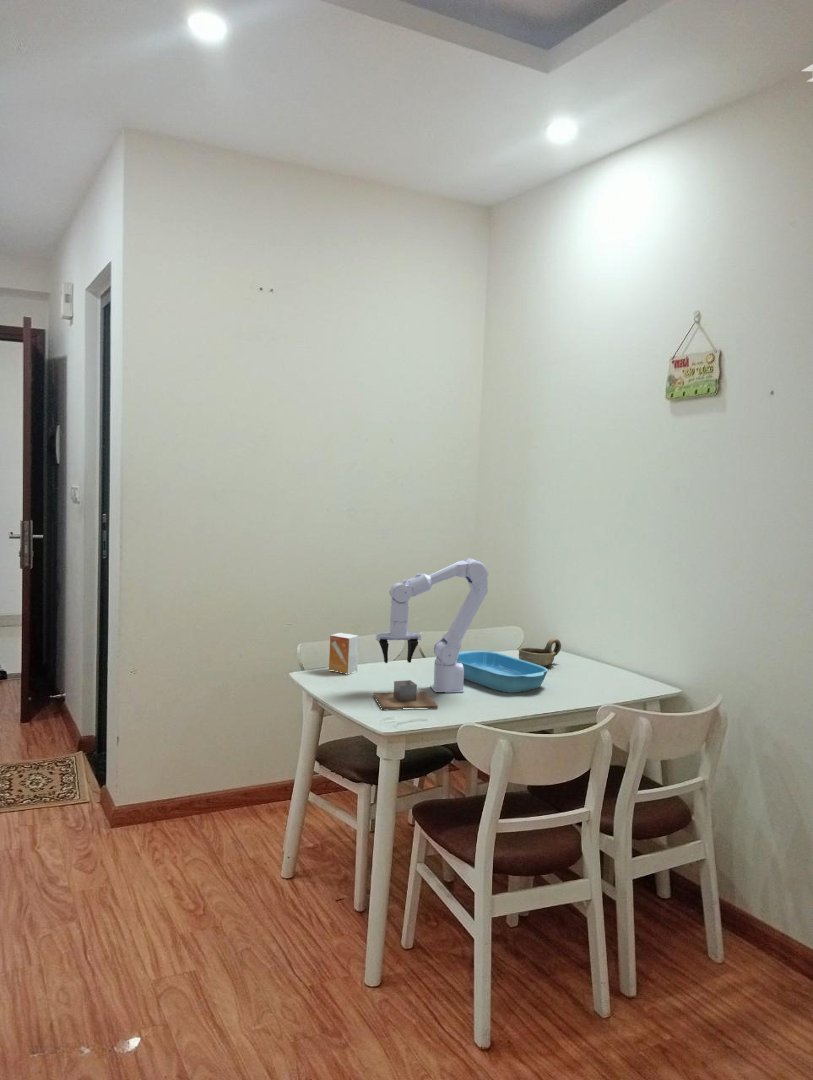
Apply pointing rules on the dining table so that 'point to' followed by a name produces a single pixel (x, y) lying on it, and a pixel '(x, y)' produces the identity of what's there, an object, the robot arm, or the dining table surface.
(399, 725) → the dining table surface
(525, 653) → the bowl
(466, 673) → the casserole dish
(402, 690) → the square cap
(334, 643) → the small box
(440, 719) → the dining table surface
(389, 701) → the post board
